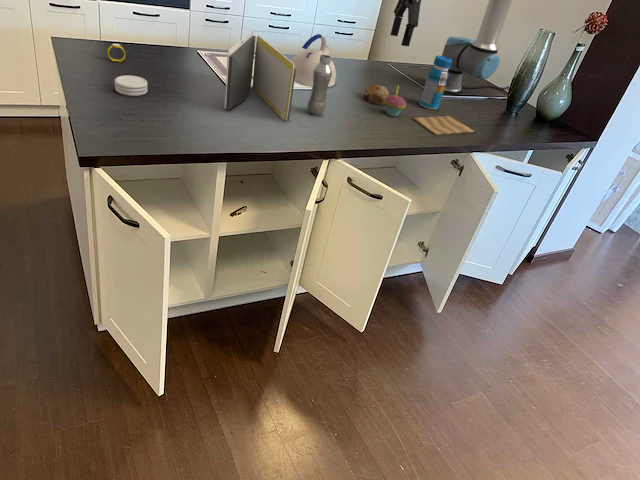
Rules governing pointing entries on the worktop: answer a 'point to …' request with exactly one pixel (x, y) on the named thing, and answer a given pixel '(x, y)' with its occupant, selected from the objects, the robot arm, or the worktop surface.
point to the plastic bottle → (320, 86)
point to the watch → (116, 47)
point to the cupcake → (394, 104)
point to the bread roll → (376, 94)
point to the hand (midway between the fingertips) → (399, 40)
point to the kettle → (311, 62)
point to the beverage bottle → (436, 83)
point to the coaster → (131, 85)
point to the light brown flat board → (443, 125)
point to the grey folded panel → (259, 75)
